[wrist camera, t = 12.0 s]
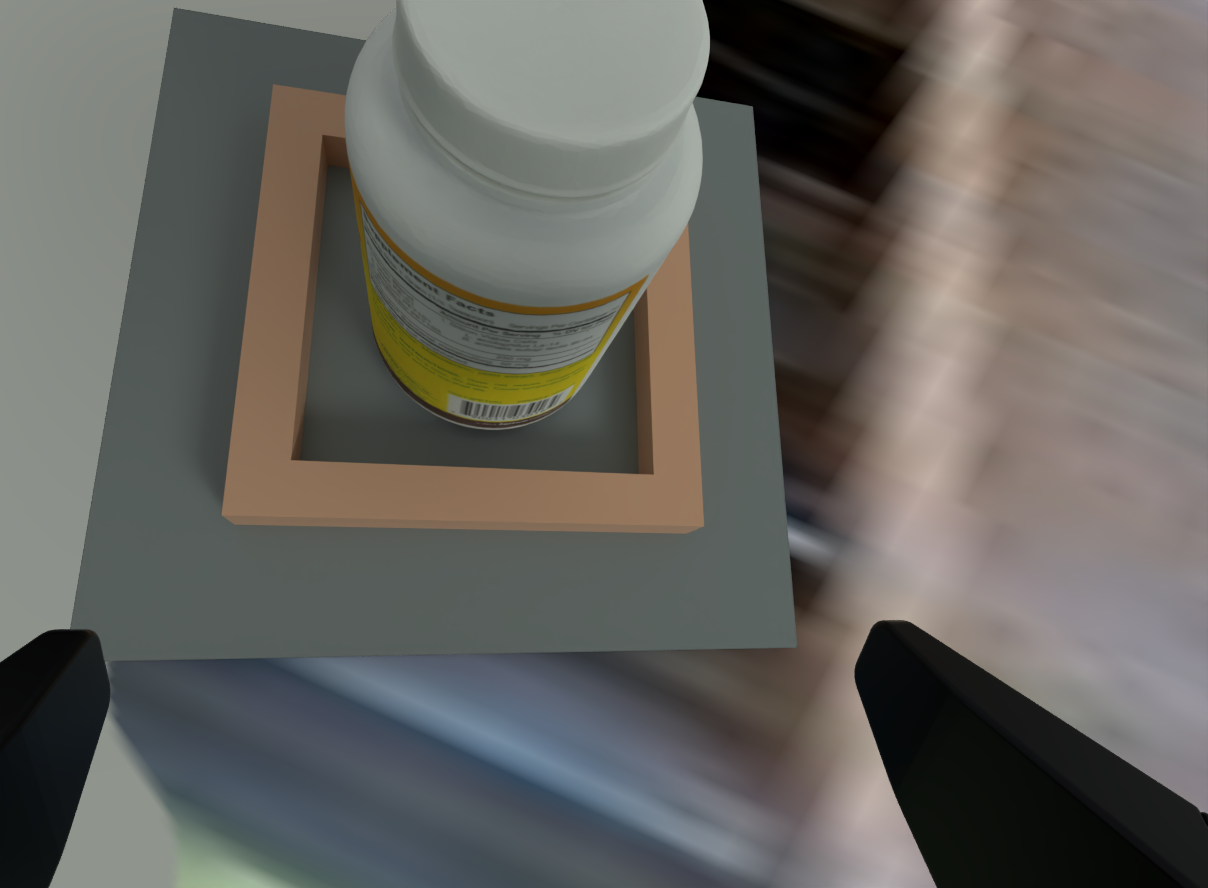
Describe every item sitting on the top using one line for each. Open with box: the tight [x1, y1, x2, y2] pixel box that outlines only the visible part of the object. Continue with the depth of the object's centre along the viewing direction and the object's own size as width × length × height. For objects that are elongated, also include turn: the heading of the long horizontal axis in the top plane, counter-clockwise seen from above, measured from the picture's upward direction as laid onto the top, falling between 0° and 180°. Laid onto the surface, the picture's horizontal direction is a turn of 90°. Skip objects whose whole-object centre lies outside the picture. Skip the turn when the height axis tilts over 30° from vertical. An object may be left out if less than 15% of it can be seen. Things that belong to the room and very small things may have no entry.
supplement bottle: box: [345, 0, 710, 430], centre depth 14 cm, size 6×6×10 cm
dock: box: [70, 8, 797, 661], centre depth 18 cm, size 16×16×2 cm
